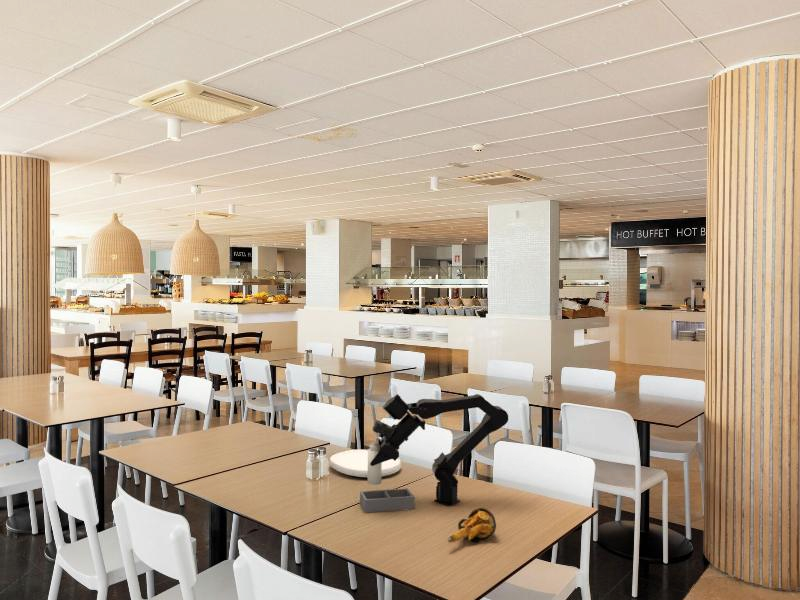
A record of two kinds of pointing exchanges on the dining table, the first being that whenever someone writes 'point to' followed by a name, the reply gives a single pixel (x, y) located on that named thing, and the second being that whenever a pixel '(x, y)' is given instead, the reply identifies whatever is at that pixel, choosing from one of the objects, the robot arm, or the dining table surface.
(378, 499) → the condiment caddy
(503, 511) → the dining table surface
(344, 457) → the plate
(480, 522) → the fried shrimp in bowl
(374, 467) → the salt mill
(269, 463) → the dining table surface
